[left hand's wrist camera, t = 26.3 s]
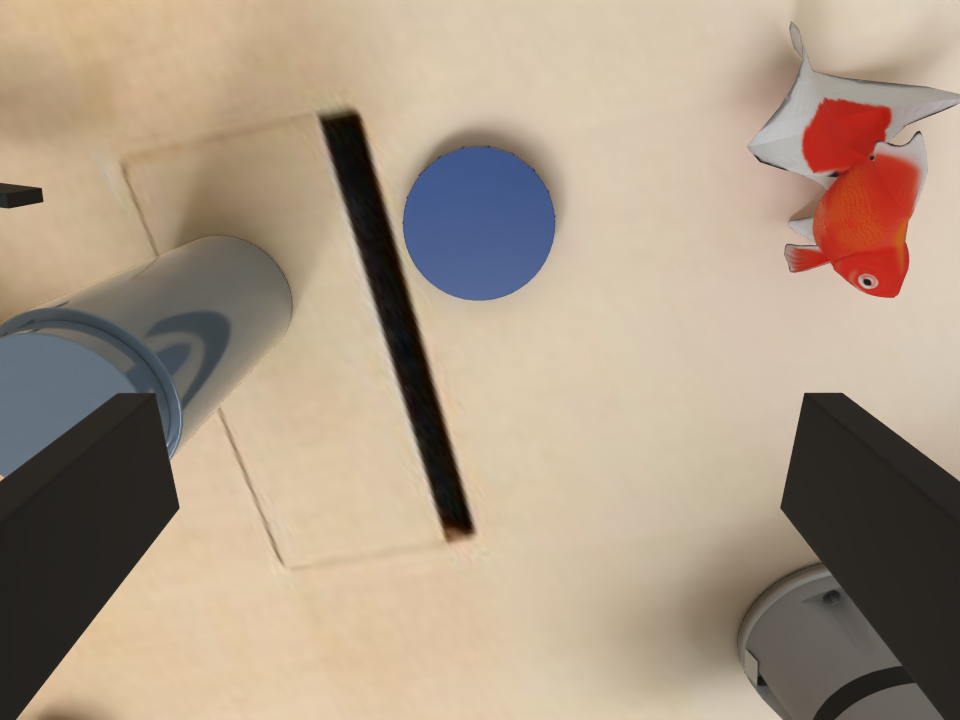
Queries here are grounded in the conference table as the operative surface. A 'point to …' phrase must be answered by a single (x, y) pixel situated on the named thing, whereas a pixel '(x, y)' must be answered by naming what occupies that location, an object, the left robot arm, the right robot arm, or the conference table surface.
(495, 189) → the lid
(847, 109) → the fish
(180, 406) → the jar
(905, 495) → the left robot arm
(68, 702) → the conference table surface
